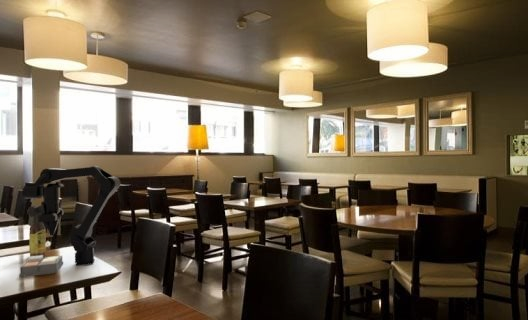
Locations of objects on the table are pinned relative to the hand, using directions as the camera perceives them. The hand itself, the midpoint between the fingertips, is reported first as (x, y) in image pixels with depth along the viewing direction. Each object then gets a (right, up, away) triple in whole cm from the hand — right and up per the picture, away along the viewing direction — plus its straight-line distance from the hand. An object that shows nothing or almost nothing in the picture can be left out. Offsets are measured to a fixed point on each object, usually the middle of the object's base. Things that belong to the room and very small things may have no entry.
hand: (51, 235), depth 155 cm
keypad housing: (+1, -12, -8) cm, 15 cm away
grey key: (-3, -10, -6) cm, 12 cm away
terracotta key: (-1, -11, -12) cm, 16 cm away
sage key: (+3, -10, -4) cm, 11 cm away
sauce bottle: (-14, -12, +12) cm, 22 cm away
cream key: (+5, -10, -10) cm, 15 cm away
